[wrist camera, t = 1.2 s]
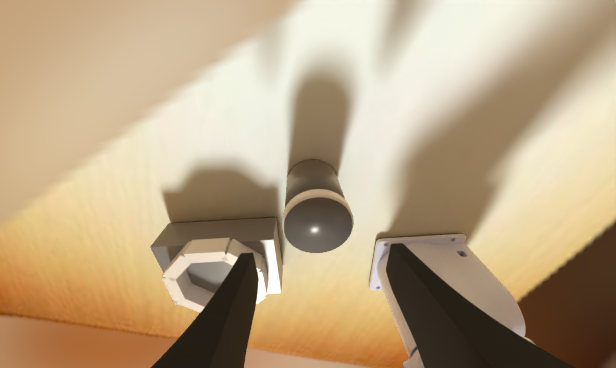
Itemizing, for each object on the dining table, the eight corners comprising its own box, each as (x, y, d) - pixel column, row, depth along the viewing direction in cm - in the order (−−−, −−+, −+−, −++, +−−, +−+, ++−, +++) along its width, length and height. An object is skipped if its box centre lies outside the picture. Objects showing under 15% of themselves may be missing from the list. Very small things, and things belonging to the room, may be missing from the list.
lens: (339, 156, 18) (357, 195, 13) (337, 203, 20) (351, 251, 15) (283, 159, 18) (278, 199, 13) (287, 205, 20) (285, 256, 15)
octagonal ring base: (275, 212, 21) (271, 248, 17) (283, 271, 24) (280, 311, 21) (166, 219, 20) (136, 256, 16) (191, 277, 24) (172, 318, 20)
